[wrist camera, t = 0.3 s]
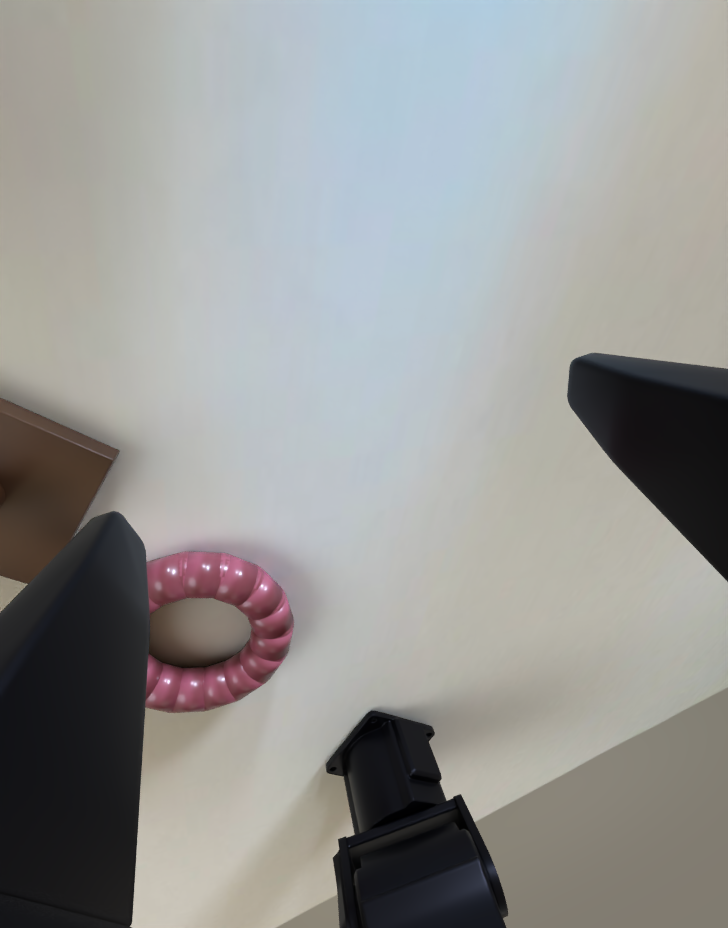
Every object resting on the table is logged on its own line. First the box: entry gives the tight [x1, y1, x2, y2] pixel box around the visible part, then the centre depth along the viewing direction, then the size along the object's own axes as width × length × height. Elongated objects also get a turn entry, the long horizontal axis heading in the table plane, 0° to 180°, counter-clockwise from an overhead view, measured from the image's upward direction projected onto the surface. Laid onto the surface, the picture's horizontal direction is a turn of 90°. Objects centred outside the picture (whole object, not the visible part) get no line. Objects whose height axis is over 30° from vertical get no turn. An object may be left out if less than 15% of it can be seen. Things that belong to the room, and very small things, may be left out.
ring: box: [145, 552, 294, 713], centre depth 26 cm, size 11×11×2 cm
